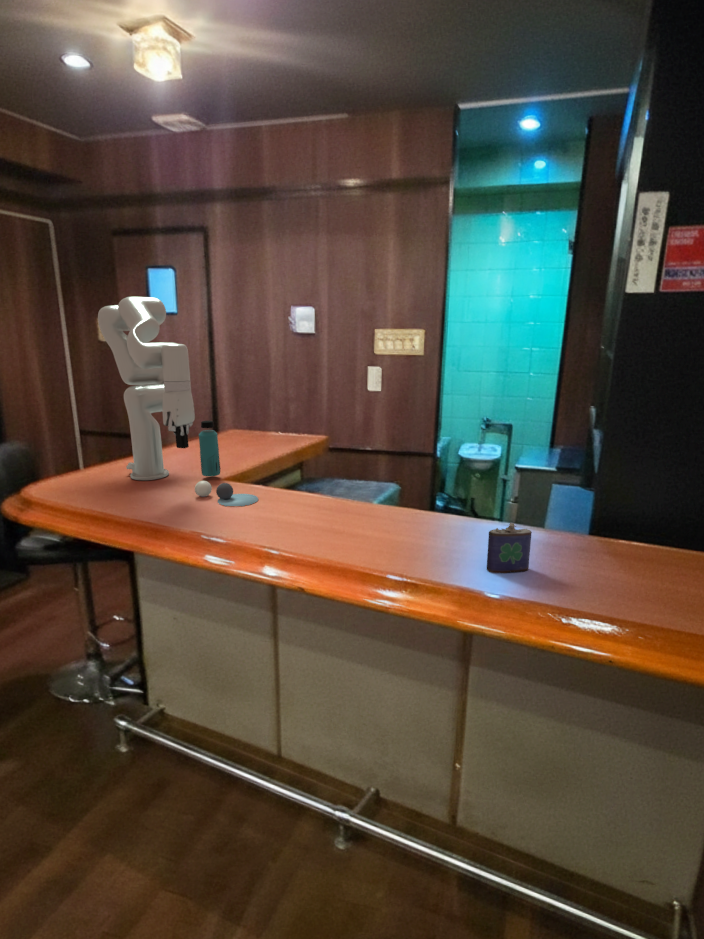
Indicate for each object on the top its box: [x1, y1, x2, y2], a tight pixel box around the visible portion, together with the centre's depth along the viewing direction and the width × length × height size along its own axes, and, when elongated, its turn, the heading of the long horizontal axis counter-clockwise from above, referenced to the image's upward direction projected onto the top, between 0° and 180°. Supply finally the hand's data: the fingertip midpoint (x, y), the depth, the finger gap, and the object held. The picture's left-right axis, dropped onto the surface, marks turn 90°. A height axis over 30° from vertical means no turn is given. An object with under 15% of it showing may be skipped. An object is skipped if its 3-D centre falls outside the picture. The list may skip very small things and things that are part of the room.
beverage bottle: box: [198, 420, 221, 477], centre depth 182 cm, size 6×7×20 cm
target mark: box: [217, 493, 259, 507], centre depth 161 cm, size 12×12×1 cm
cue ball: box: [194, 480, 213, 498], centre depth 164 cm, size 5×5×5 cm
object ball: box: [215, 482, 234, 499], centre depth 162 cm, size 5×5×5 cm
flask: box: [486, 522, 532, 574], centre depth 114 cm, size 9×3×11 cm, turn 95°
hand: (182, 447), depth 163 cm, fingers closed
